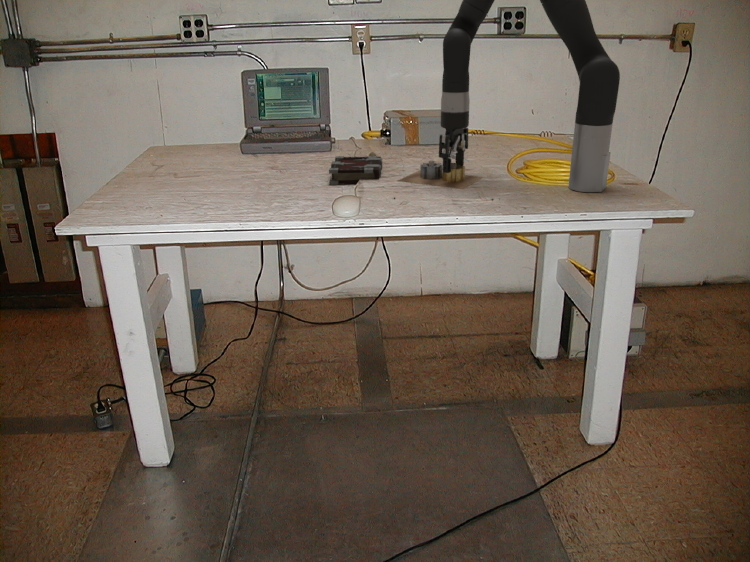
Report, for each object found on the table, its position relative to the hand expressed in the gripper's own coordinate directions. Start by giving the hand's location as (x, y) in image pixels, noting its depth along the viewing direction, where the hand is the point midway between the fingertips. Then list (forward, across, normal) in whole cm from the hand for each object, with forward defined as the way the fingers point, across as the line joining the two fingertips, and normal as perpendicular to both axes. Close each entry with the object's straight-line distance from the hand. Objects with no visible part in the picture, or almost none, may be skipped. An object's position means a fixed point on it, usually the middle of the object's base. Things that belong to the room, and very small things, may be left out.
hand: (453, 169), depth 172 cm
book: (+5, -1, +31) cm, 31 cm away
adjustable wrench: (+5, +28, +10) cm, 30 cm away
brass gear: (+3, 0, 0) cm, 3 cm away
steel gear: (+3, 0, +7) cm, 7 cm away
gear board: (+4, -1, +3) cm, 6 cm away
